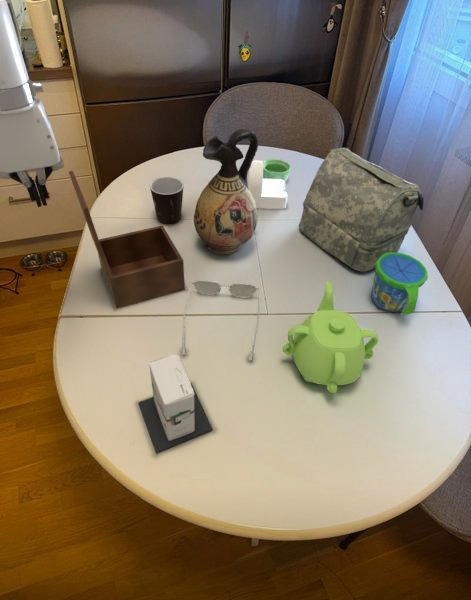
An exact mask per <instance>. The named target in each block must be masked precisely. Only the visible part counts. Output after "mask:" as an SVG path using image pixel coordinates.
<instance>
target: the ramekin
mask: <svg viewBox="0 0 471 600" xmlns="http://www.w3.org/2000/svg"><path fill="white" fill-rule="evenodd" d="M290 171H291V165H290V163H289V162H287V161H285V160H282V159H278V158H270V159H266V160H264V161H263V179H282V180H284V181H285V183H286V182H287V181H288V178H289V174H290Z"/></svg>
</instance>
